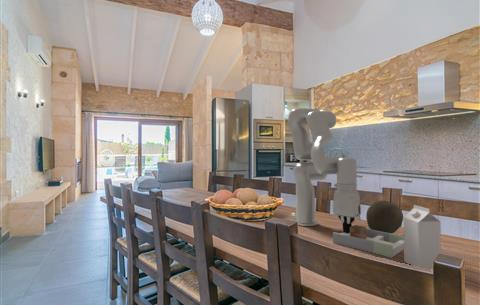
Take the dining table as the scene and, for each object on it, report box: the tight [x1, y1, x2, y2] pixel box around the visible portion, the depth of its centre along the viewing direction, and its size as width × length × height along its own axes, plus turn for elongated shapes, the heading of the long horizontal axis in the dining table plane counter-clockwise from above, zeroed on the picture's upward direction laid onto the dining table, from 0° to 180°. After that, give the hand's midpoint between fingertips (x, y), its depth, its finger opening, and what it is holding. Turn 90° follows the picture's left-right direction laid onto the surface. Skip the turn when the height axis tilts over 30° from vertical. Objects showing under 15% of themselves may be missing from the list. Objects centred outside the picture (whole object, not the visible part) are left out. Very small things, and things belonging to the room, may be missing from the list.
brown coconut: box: [365, 200, 404, 234], centre depth 119 cm, size 14×14×15 cm
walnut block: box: [350, 224, 367, 239], centre depth 107 cm, size 4×4×4 cm
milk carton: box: [403, 204, 442, 269], centre depth 86 cm, size 7×7×19 cm
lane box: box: [332, 228, 404, 259], centre depth 107 cm, size 22×16×4 cm
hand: (347, 232), depth 110 cm, fingers closed
